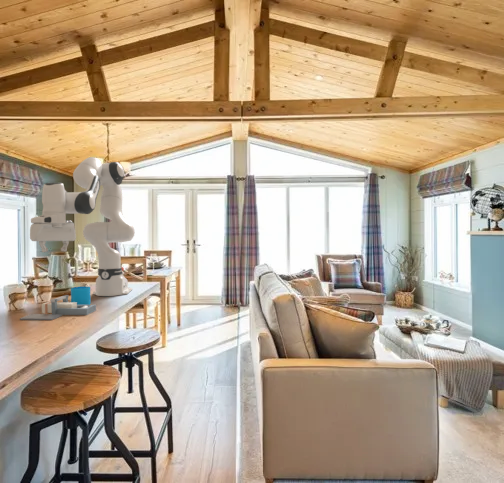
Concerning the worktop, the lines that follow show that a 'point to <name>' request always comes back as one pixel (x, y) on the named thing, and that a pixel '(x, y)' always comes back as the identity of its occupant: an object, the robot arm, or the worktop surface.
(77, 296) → the mug
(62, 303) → the beige rectangular block
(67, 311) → the dispenser
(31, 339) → the worktop surface
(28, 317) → the pad
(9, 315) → the worktop surface
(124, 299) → the worktop surface
